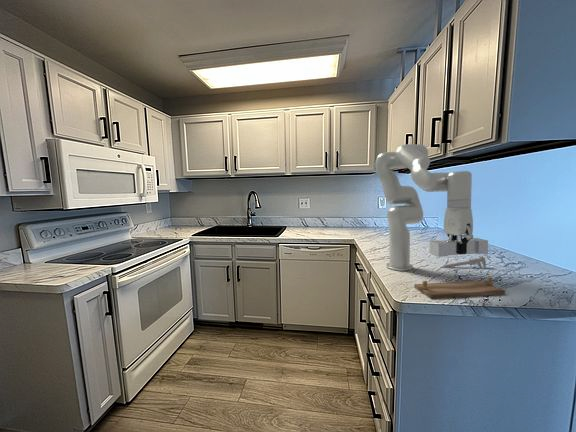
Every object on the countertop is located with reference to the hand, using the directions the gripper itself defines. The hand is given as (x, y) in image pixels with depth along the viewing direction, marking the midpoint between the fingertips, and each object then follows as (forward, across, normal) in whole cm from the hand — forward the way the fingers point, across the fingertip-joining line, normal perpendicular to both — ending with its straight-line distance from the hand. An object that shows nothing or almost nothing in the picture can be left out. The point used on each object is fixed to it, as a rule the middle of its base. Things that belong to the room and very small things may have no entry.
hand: (457, 252), depth 99 cm
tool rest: (+15, 0, 0) cm, 15 cm away
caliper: (+16, -28, +23) cm, 40 cm away
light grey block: (+1, 0, 0) cm, 1 cm away
